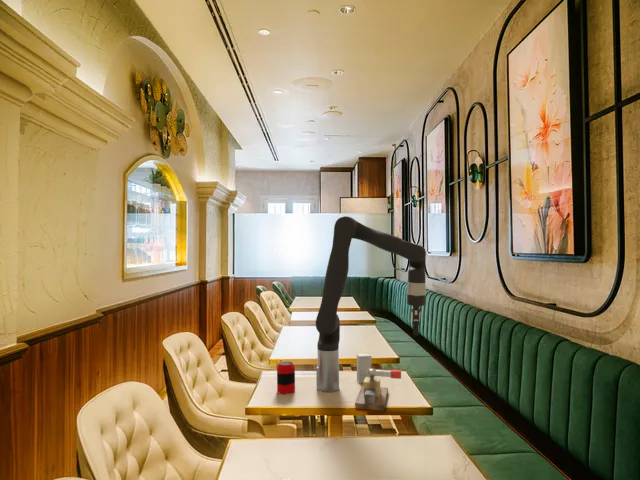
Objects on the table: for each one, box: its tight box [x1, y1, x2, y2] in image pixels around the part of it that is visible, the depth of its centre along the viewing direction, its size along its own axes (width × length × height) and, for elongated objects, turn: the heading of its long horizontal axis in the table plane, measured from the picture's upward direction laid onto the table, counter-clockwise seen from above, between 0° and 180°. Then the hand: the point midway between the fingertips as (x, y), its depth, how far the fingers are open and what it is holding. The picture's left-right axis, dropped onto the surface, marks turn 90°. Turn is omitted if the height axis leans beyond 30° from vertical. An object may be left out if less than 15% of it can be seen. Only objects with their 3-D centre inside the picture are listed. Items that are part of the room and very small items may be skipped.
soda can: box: [276, 361, 296, 395], centre depth 177 cm, size 8×8×12 cm
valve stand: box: [354, 377, 389, 411], centre depth 167 cm, size 11×19×10 cm, turn 166°
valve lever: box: [368, 367, 402, 380], centre depth 166 cm, size 13×3×3 cm, turn 76°
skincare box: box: [356, 353, 373, 384], centre depth 188 cm, size 6×4×12 cm
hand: (415, 332), depth 171 cm, fingers open, 8 cm apart
